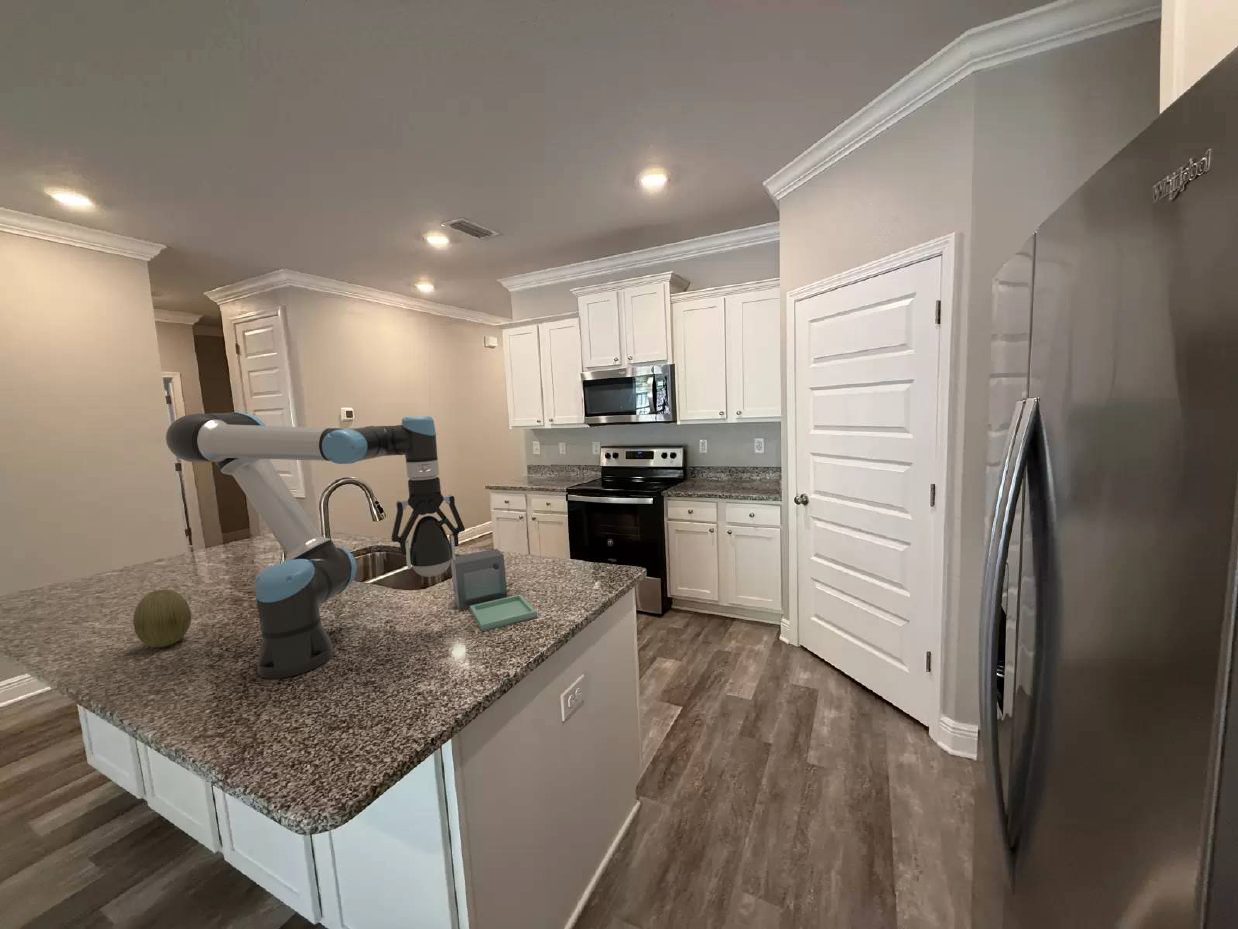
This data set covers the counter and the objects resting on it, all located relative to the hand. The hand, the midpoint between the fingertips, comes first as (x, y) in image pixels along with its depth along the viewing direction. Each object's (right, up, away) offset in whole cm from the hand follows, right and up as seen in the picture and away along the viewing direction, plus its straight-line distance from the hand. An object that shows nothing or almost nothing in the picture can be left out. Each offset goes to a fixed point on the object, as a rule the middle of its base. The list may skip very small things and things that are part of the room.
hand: (431, 562), depth 128 cm
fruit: (-71, -23, +4) cm, 75 cm away
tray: (+16, -17, +11) cm, 25 cm away
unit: (+7, -16, +22) cm, 28 cm away
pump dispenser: (0, -3, 0) cm, 3 cm away
